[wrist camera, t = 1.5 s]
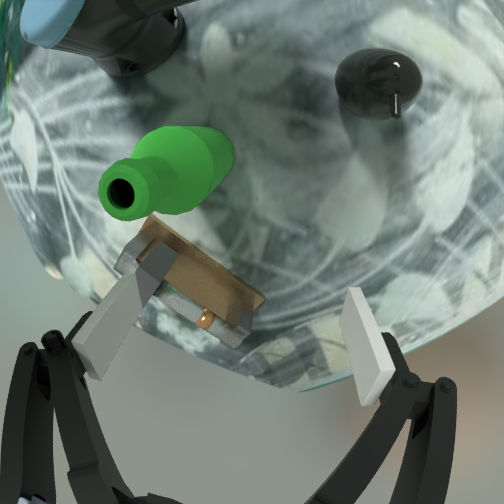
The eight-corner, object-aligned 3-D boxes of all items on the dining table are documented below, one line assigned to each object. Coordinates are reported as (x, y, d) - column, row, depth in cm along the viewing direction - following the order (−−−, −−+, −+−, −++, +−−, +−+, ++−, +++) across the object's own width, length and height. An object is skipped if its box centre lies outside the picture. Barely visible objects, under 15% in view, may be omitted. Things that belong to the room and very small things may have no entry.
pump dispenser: (322, 110, 35) (353, 99, 21) (335, 49, 30) (368, 12, 16) (385, 131, 35) (440, 137, 21) (397, 73, 30) (452, 55, 17)
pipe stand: (126, 255, 46) (101, 281, 38) (151, 213, 43) (124, 234, 34) (231, 328, 52) (224, 364, 43) (265, 296, 48) (263, 332, 39)
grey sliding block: (138, 276, 44) (116, 304, 36) (160, 240, 41) (138, 266, 33) (155, 288, 44) (136, 319, 37) (179, 254, 41) (160, 282, 34)
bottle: (245, 140, 37) (206, 155, 15) (221, 193, 41) (161, 276, 18) (190, 118, 36) (87, 112, 14) (169, 170, 40) (63, 226, 17)
